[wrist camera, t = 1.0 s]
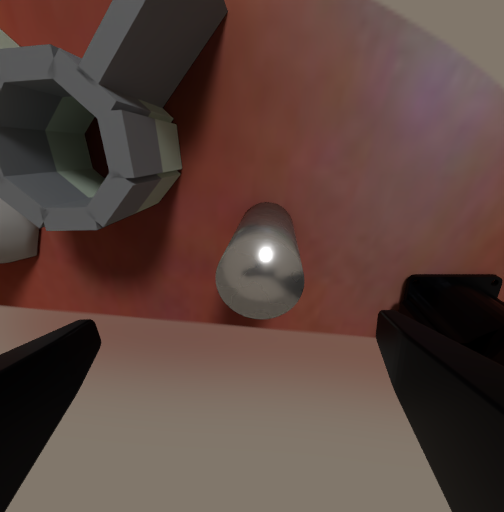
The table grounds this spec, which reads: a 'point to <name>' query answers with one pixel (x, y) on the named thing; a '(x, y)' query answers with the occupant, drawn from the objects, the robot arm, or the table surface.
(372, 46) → the table surface
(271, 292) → the pin
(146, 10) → the grey hollow faceted fixture
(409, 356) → the robot arm
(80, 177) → the pale green bracket
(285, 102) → the table surface
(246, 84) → the table surface
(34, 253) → the flask
